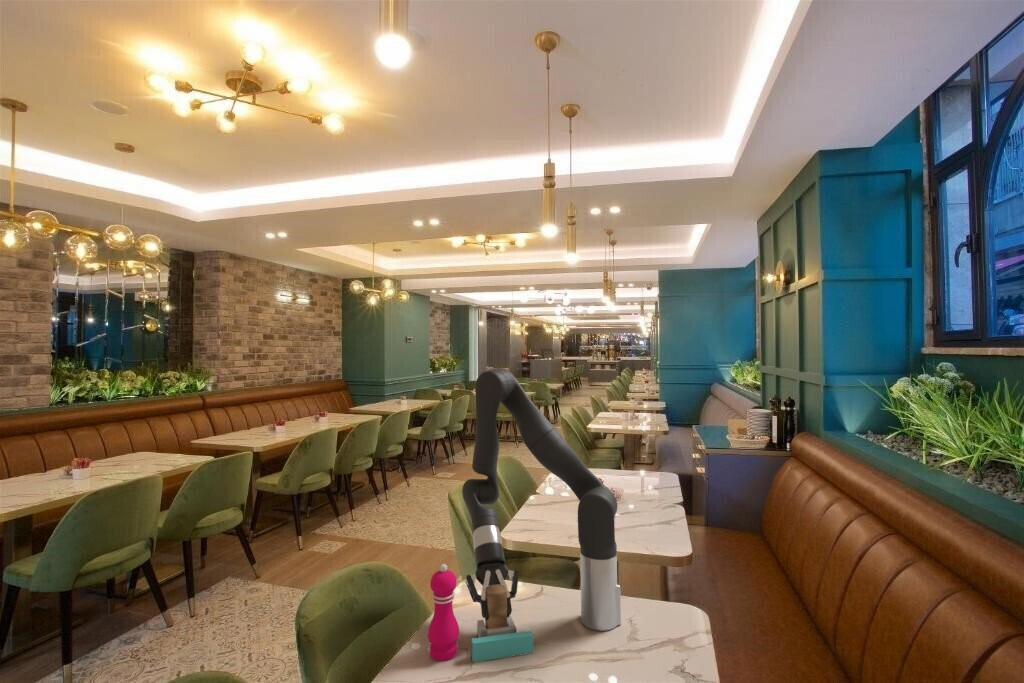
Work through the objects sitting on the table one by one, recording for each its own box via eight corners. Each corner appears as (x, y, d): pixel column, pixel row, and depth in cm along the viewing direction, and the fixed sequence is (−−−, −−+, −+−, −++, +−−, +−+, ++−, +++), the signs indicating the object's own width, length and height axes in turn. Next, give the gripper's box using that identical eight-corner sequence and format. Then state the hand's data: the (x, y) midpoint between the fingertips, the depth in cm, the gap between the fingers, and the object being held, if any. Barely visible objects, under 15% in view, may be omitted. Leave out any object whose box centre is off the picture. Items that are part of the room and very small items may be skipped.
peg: (503, 624, 122) (502, 583, 122) (507, 634, 118) (506, 591, 118) (485, 627, 121) (485, 585, 121) (488, 637, 116) (488, 594, 117)
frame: (511, 628, 122) (510, 616, 122) (516, 641, 116) (516, 628, 117) (477, 632, 120) (477, 620, 120) (481, 646, 114) (481, 633, 115)
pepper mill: (453, 664, 108) (453, 572, 109) (422, 660, 110) (422, 569, 110) (463, 645, 115) (463, 559, 116) (434, 642, 117) (434, 556, 118)
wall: (531, 648, 114) (531, 630, 114) (533, 653, 112) (533, 635, 112) (471, 656, 111) (471, 638, 111) (472, 662, 109) (472, 643, 109)
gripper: (462, 543, 126) (469, 615, 113) (516, 538, 129) (529, 608, 117) (460, 556, 130) (466, 627, 118) (512, 551, 134) (524, 619, 121)
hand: (497, 617), depth 117 cm, fingers closed on peg, 4 cm apart
